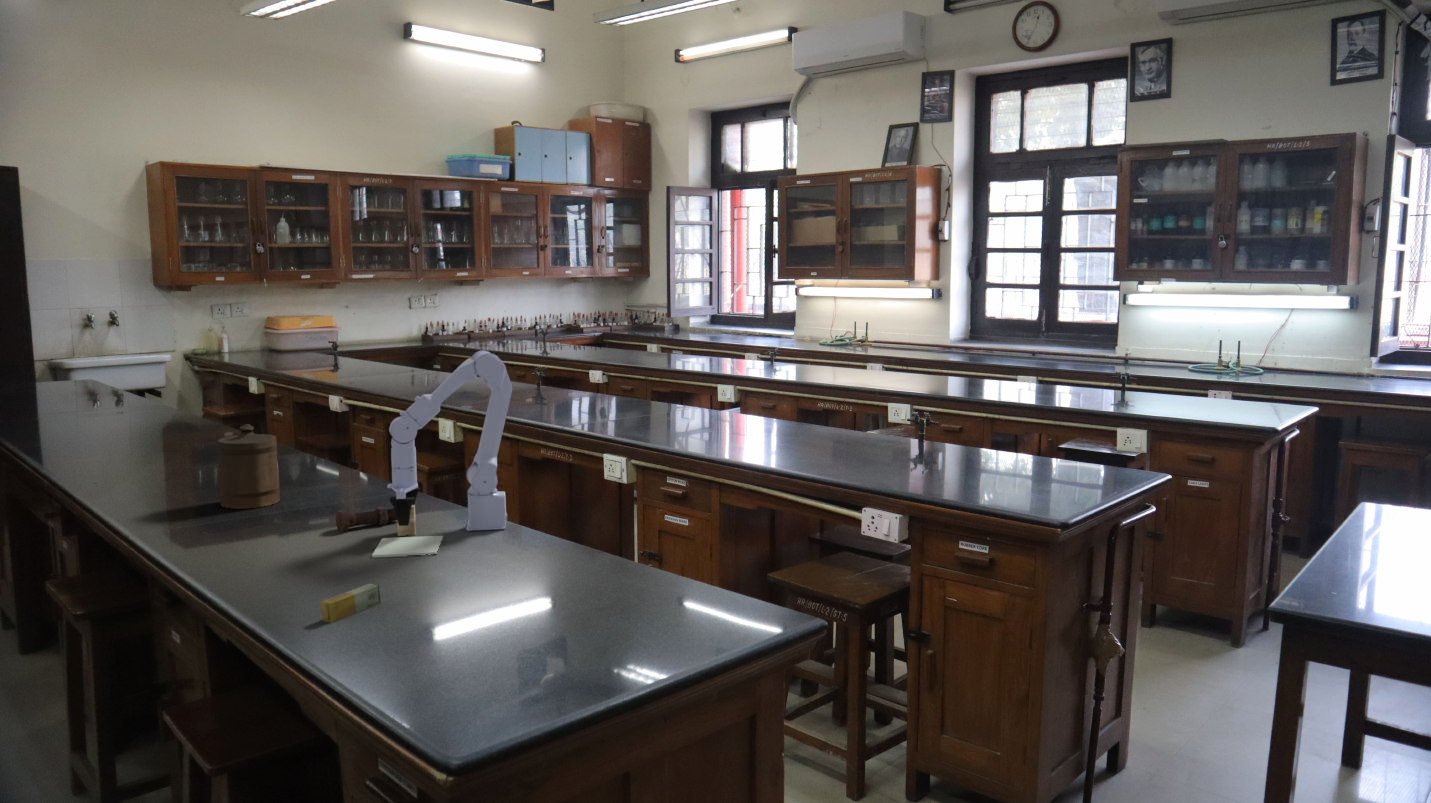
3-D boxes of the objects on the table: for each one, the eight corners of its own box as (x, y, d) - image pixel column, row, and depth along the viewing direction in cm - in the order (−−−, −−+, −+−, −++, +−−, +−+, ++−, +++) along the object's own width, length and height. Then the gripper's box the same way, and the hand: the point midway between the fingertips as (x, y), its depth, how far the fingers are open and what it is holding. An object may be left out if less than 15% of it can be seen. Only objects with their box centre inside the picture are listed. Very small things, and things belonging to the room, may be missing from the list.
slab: (416, 532, 238) (415, 504, 237) (414, 535, 236) (413, 507, 235) (399, 533, 237) (398, 505, 236) (397, 535, 235) (396, 507, 234)
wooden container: (290, 497, 274) (286, 420, 271) (261, 510, 259) (256, 429, 256) (241, 496, 276) (236, 419, 273) (209, 508, 261) (203, 428, 258)
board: (442, 537, 233) (442, 535, 233) (436, 554, 219) (436, 552, 219) (382, 540, 231) (382, 538, 231) (372, 557, 217) (371, 555, 217)
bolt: (399, 528, 248) (340, 537, 239) (392, 516, 251) (334, 523, 242) (404, 511, 246) (344, 519, 236) (397, 499, 249) (337, 506, 239)
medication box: (371, 601, 189) (370, 582, 189) (381, 603, 188) (380, 583, 187) (321, 621, 178) (319, 600, 178) (331, 623, 177) (329, 602, 177)
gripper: (391, 461, 241) (393, 514, 242) (381, 473, 226) (384, 529, 228) (421, 460, 242) (422, 513, 244) (413, 472, 228) (415, 528, 229)
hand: (406, 521), depth 236 cm, fingers open, 7 cm apart
